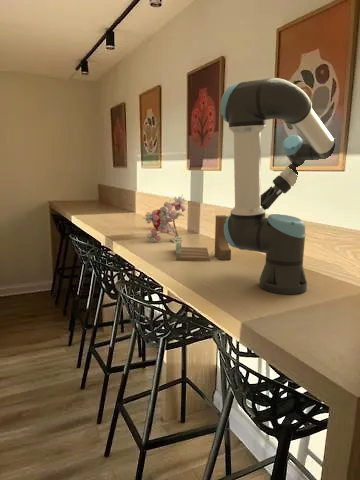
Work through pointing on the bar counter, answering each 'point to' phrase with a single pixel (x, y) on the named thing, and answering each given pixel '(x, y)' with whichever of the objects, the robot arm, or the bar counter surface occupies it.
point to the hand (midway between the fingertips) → (247, 216)
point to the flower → (165, 219)
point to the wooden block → (221, 239)
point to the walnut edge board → (190, 253)
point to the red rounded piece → (157, 220)
